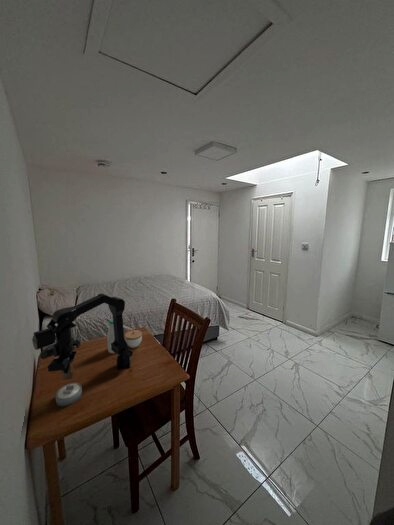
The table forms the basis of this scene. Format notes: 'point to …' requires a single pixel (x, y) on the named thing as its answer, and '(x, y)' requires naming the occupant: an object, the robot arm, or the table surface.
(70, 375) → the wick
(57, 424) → the table surface
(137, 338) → the lidded jar
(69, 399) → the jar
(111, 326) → the milk bottle
